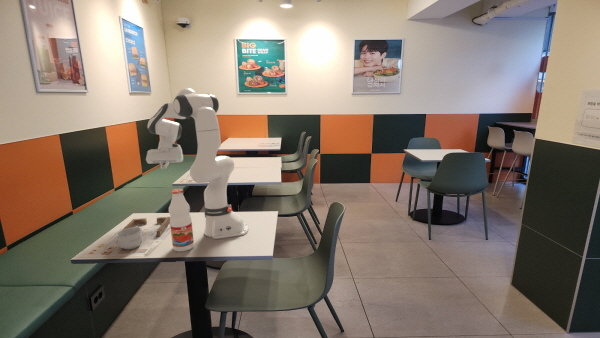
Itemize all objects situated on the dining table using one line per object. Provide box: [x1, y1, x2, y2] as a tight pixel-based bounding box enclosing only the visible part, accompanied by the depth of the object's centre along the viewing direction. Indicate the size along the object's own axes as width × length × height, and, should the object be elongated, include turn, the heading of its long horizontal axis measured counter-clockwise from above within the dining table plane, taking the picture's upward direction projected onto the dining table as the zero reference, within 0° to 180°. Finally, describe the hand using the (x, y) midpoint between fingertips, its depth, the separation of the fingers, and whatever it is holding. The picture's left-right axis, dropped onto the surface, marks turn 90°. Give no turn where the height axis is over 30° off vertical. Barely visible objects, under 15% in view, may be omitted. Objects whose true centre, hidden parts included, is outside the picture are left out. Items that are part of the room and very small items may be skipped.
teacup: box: [115, 225, 144, 250], centre depth 158 cm, size 14×11×8 cm
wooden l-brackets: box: [121, 216, 171, 237], centre depth 177 cm, size 20×20×3 cm
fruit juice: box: [168, 188, 195, 253], centre depth 152 cm, size 9×9×28 cm
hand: (163, 168), depth 189 cm, fingers closed
